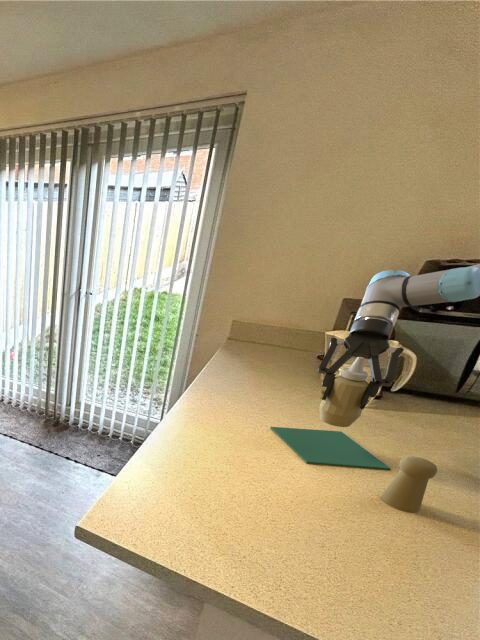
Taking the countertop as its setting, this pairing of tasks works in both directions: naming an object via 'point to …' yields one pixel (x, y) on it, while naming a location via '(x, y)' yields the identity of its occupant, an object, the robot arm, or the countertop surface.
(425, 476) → the cork
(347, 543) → the countertop surface
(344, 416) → the squeeze bottle
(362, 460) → the mat
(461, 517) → the countertop surface
